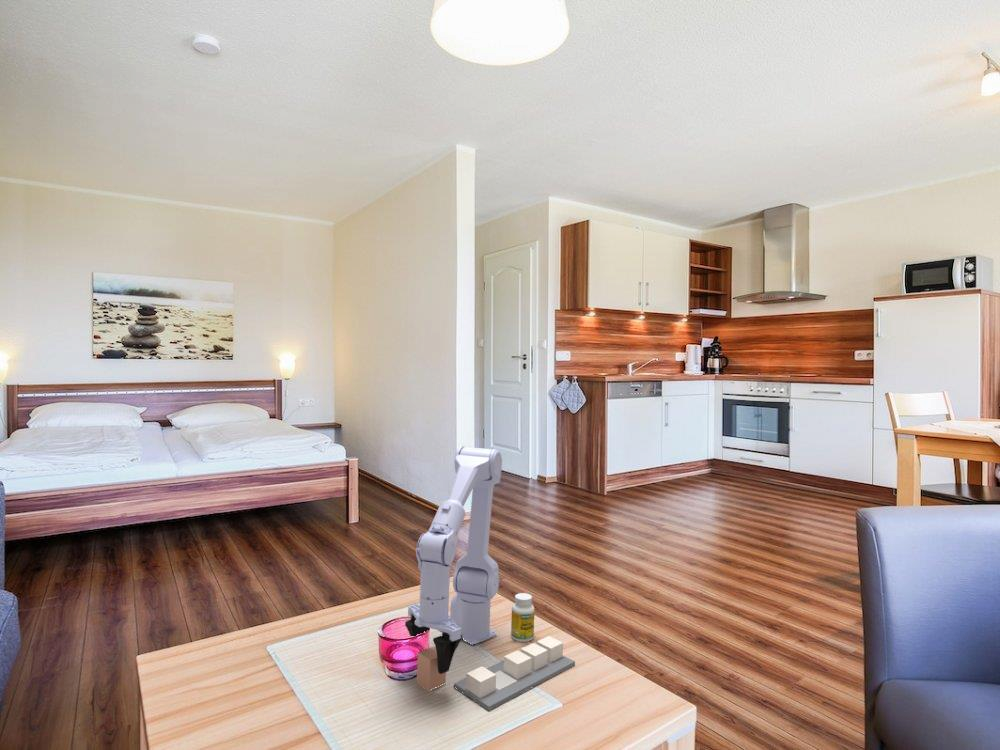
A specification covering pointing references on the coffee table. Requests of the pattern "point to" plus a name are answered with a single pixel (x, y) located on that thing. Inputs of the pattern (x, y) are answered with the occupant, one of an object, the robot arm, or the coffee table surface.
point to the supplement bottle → (522, 618)
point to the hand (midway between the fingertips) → (431, 663)
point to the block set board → (519, 684)
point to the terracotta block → (429, 669)
